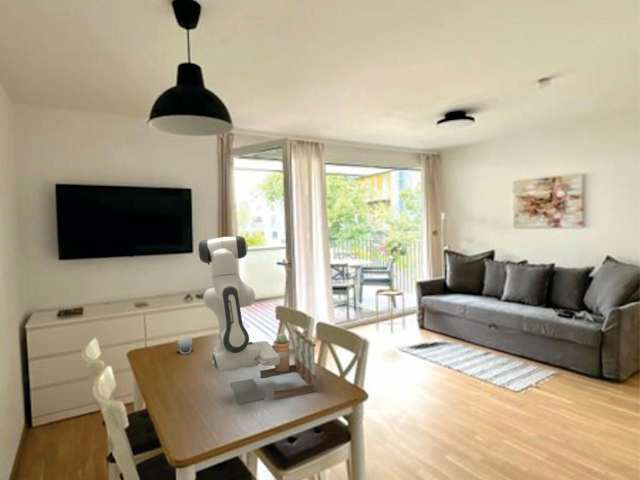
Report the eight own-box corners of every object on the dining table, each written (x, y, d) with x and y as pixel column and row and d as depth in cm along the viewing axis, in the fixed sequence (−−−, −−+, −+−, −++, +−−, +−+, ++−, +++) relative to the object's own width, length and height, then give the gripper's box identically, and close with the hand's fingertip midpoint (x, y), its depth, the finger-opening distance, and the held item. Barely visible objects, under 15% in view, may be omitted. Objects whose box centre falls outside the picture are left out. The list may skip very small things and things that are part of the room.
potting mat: (230, 384, 164) (230, 382, 164) (252, 380, 168) (252, 378, 167) (239, 404, 145) (239, 402, 145) (264, 399, 149) (263, 397, 149)
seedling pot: (272, 366, 165) (271, 332, 163) (287, 364, 167) (286, 330, 166) (276, 373, 158) (275, 337, 157) (292, 370, 161) (292, 334, 160)
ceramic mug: (175, 350, 208) (175, 337, 208) (190, 347, 212) (190, 334, 212) (179, 356, 199) (178, 342, 199) (194, 353, 203) (194, 339, 203)
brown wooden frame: (260, 376, 171) (259, 333, 170) (297, 369, 178) (296, 328, 177) (274, 399, 149) (273, 350, 148) (316, 390, 156) (315, 343, 155)
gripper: (258, 356, 147) (291, 351, 153) (247, 340, 166) (277, 336, 171) (258, 372, 148) (291, 366, 153) (247, 354, 167) (277, 349, 172)
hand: (283, 350), depth 162 cm, fingers closed on seedling pot, 6 cm apart
